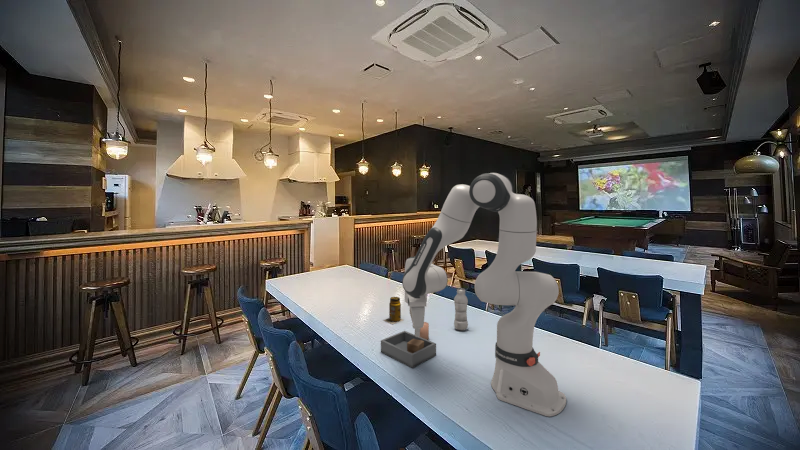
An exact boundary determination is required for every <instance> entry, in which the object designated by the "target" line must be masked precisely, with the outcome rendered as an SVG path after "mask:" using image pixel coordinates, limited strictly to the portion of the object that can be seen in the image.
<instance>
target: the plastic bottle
mask: <svg viewBox="0 0 800 450" xmlns="http://www.w3.org/2000/svg"><path fill="white" fill-rule="evenodd" d="M468 301H469V300H468V297H467V296H466V289H465V288H462V287H460V288H456V295H455V296H454V298H453V302H454V313H455V314H454V322H453V326H454V328H455V330H457V331H466V330H467V329H468V326H469V323H468V317H467V316H468V315H467V313H468V312H467V311H468Z"/></svg>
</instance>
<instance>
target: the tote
mask: <svg viewBox="0 0 800 450" xmlns="http://www.w3.org/2000/svg"><path fill="white" fill-rule="evenodd" d="M412 339H417V340H421V341H424V348H423V349H420V350H418V351H416V352H414V353H410V352H408V351H407V343H408V342H409V341H410V340H412ZM380 353H382V354H383V355H385V356H388V357H389V358H391V359H393V360H395V361H397V362H399V363H401V364H403V365H404V366H406V367H409V368H411V369H414V368H415V367H418V366H419V365H421V364H423V363H424V362H427V361H429V360H431V359H432V358H434V357H436V356H437V343H436V342H433V341H432V340H431V341H430V340H426V339H424V338H421V337H415V333H412V332H409V331H406V330H403V331H400V332H398V333H395V334H393V335H390V336H388V337H385V338H383V339H380Z"/></svg>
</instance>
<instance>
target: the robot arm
mask: <svg viewBox="0 0 800 450" xmlns="http://www.w3.org/2000/svg"><path fill="white" fill-rule="evenodd" d="M479 208H482V209H484V210H485V209H486V210H487V211H491V212H494V213H497V214H498V215H499V228H498V229H499V233H498V245H497V251H496V255H495V258H494V259H493V261H492V262H491V264H490V265H489V266H488V267H487V268H486V269H484V270H482V272H480V273H479V274H478V276H477V277H476V279H475V281H474V292H475V295H476V296H477V298H478V299H479V301H480V302H483V303H487V304H491V305H495V306H515V307H514V308H513V309H511V311H510V312H508V313H506V314H503V315H502V316H501V317H500V318H499V319H498V320H497V323H496V342H495V346H494V347H495V348H494V357H495V364H494V365H495V366H494V371H493V375H492V379H491V382H490V385H491V388H492V389H493V390H494V392H495V393H496V397H497V399H498V400H499V401H502V402H505V403H507V404H510V405H513V406H516V407H519V408H522V409H525V410H527V411H530V412H533V413H536V414H538V415H541V416H546V417H554V416H557V415H558V414H560V413H561V412H562V411H563V410H564V409H565V408H566V405H567V397H566V395H565V393H564V392H562V391H560V390H559V386H558V381H557V379H556V377H555V376H554V375H553V374H552V373H551V372H550V371H549V370H548V369H547V368H545V367H544V365H543V364H541V363H540V361H539V358H540V356H541V352H540V351H539V352H538V353H537V352H536V351H535V349H534V346H533V341H534V331H535V325H536V323H537V321H538V318H539V317H540V315H541V314H542V313H543V312H544V311H545V310H546V309H547V308H549V307H550V306H551V305H553V304H554V303H555V302H556V301H557V299H558V296H559V293H560V291H559V289H560V288H559V285H558V282H557V281H556V279H555V278H554V276H552V275H551V274H548V273H544V272H539V271H521V270H519V271H516V270H517V269H518V267H519V266H521V265H522V264H523V263H526V262H527V261H530V260H531V259H532V258H533V257H534V256H535V253H536V251H537V232H538V231H537V230H538V229H537V228H538V220H537V217H538V216H537V210H536V209H537V208H536V203H535V201H534V199H533V198H532V197H530V195H529V196H528V195H526V194H523V193H522V194H521V193H520V194H519V193H515V192H514V185H513V182H512V181H511V179H510V178H509V177H507V176H506V175H504V174H500V173H497V172H490V173H489V172H488V173H487V172H486V173H481V174H480V175H478V176H476V177H475V178H474V179H473V180H472V182H471V183H470V185H468V184H463V183H462V184H456V185H454V186H453V187H452V188H451V190H450V191H449V193H448V195H447V197H446V199H445V201H444V203H443V205H442V208H441V209H440V210H441V211H440V213H439V215H438V217H437V219H436V221H435V223H434V224H433V226H432V227H431V228H430V229H429V230H428V232H427V233H426V235H425V236H424V238H423V240H422V241H421V243H420V246H419V248H418V250H417V252H416V254H415V256H410V257H408V258H407V259H406V260H405V265H404V274H403V276H402V280H401V282H402V288H403V289H404V302H405V303H407V307H409V315H410V319H411V323H412V329H414V335H415V337H419V336H420V328H423V325H424V322H425V314H426V313H425V311H426V307H427V302H428V295H429V294H430V295H431V294H433V293H437V292H441V291H443V290H445V289H446V287H447V285H448V279H449V278H448V274H447V272H446V270H445V269H444V268H443V267H441V266H438V265H435V264H433V262H434V259H435V258H436V256H437V255H438V253H439V252H440V251H441V250H443V249H444V248H445V247H447V246H448V245H451V244H453V243H455V242H457V241H460V240H462V239H463V238H464V237H465V235H466V234H467V233H468V230H469V228H470V226H471V224H472V221H473V219H474V216H475V213H476V211H478V209H479Z"/></svg>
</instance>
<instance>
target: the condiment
mask: <svg viewBox="0 0 800 450" xmlns="http://www.w3.org/2000/svg"><path fill="white" fill-rule="evenodd" d="M389 300H390V301H389V307H388V308H389V310H388V311H389V313H388V314H389V315H388V316H389V318H386V319H383V321H384V322H387V323H388V324H390V325H391V324H392V325H394V324H397V323H400V322H403V321H404V319H403V318H402V312H401V311H402V310H401V309H402V307H401V305H402V304H401V298H400V297H399V296H392V297H390V299H389Z"/></svg>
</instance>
